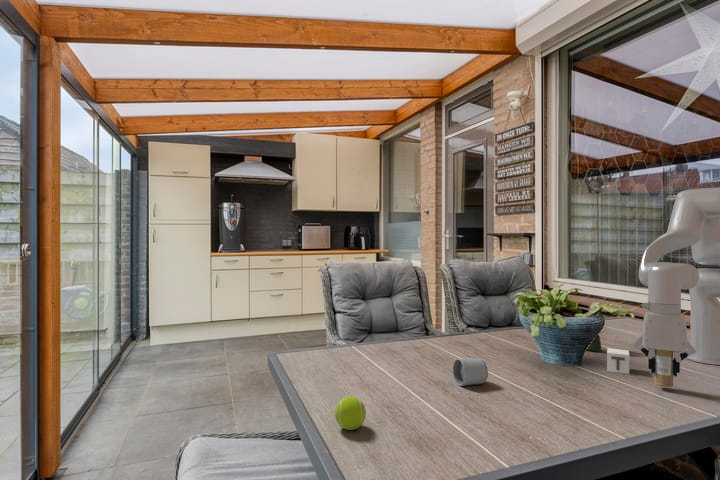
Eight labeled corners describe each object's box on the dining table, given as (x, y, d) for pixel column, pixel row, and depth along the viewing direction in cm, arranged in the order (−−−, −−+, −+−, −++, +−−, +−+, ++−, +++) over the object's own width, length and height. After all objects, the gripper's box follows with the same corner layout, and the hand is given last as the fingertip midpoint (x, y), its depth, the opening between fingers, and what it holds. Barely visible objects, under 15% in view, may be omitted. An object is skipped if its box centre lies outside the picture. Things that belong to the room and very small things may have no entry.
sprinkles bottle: (676, 385, 120) (676, 337, 120) (669, 388, 117) (669, 340, 117) (657, 380, 124) (658, 334, 123) (650, 383, 121) (650, 336, 121)
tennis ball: (335, 436, 94) (334, 404, 94) (335, 421, 101) (335, 392, 101) (366, 435, 94) (366, 403, 94) (364, 421, 101) (364, 391, 101)
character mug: (592, 346, 166) (592, 312, 166) (610, 350, 160) (610, 315, 160) (573, 349, 162) (573, 315, 161) (590, 354, 155) (590, 318, 155)
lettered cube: (607, 366, 142) (607, 348, 142) (628, 369, 139) (628, 350, 139) (606, 371, 136) (607, 352, 136) (629, 374, 133) (629, 355, 133)
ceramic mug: (490, 386, 123) (489, 360, 123) (464, 389, 121) (464, 362, 121) (471, 375, 133) (471, 351, 133) (447, 378, 131) (447, 353, 131)
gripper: (628, 308, 121) (628, 372, 122) (704, 313, 112) (704, 382, 113) (628, 304, 128) (628, 365, 128) (699, 309, 119) (699, 374, 119)
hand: (663, 372), depth 120 cm, fingers closed on sprinkles bottle, 4 cm apart
